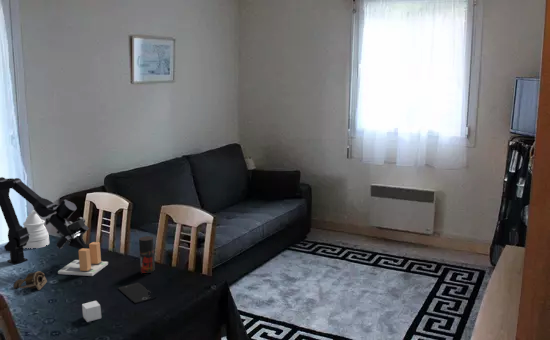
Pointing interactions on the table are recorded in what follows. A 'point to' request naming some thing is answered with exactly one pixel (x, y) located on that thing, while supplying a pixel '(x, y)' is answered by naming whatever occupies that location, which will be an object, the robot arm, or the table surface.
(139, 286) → the cell phone
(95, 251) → the tab
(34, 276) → the brown ringed piece
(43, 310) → the table surface
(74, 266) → the switch bank
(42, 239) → the honey pot
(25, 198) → the robot arm
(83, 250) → the tab
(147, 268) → the deodorant
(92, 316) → the white cube
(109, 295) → the table surface
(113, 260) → the table surface
